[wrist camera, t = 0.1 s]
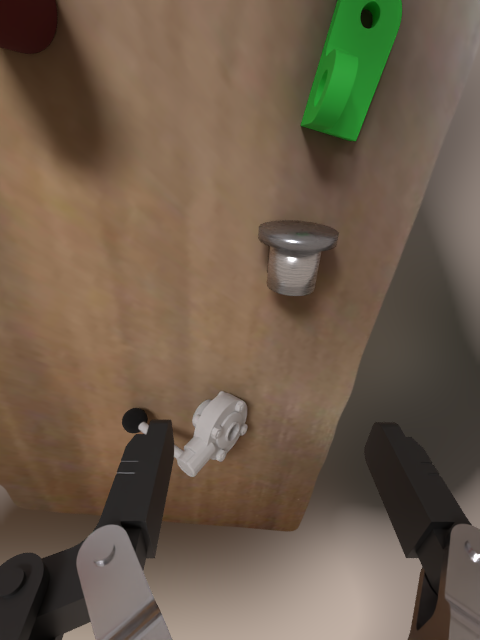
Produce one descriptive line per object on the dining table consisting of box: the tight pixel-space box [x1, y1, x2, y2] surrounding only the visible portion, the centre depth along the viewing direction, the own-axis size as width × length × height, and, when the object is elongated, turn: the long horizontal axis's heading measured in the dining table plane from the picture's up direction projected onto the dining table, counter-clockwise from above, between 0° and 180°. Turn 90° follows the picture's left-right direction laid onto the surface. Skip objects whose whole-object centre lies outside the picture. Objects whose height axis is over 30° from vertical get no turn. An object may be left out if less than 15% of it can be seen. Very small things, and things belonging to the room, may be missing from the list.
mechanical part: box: [301, 0, 402, 141], centre depth 27 cm, size 12×6×8 cm, turn 166°
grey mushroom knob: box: [258, 221, 339, 296], centre depth 36 cm, size 7×9×9 cm
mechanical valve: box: [122, 391, 248, 477], centre depth 52 cm, size 10×18×15 cm
